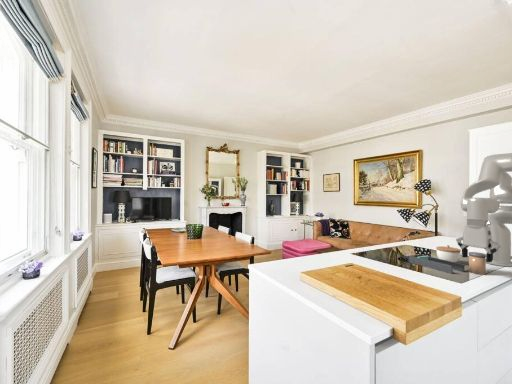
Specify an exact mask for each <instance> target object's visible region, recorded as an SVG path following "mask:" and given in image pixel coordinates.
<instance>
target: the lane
mask: <svg viewBox="0 0 512 384" xmlns="http://www.w3.org/2000/svg"><path fill="white" fill-rule="evenodd" d="M420 256H426V255H425V254H419V253H417V254H411V255H408V256H407V262H408V263H411V264H414V265H417V264H418V266H421V267H426V268H429V269H432V270H436V271H439V272H443V273H447V274H451V275H452V274H454V270H455V271H458V272H463V273H465V264H463V263H459V262H451V261H447V260H443V259H439V258H438V257H434V256H429V255H428V256H429V260H425V259H421V258H417V257H420Z"/></svg>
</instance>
